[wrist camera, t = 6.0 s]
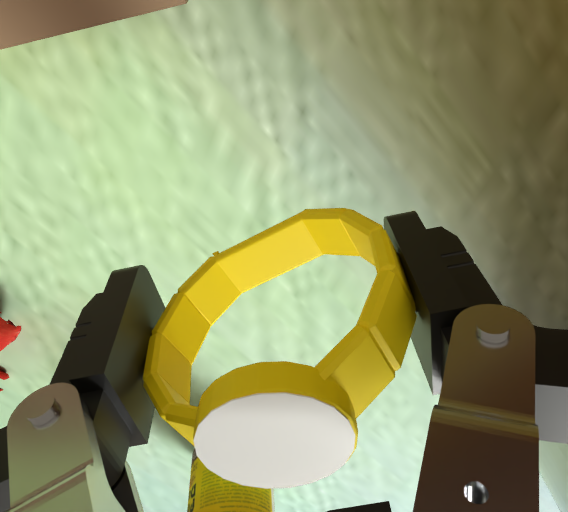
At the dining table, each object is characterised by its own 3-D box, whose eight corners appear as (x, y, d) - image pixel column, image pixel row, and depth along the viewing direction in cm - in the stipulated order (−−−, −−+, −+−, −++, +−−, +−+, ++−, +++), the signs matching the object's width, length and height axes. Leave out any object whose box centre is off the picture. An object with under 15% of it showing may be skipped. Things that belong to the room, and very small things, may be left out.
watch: (210, 317, 14) (170, 524, 10) (154, 251, 13) (73, 456, 8) (400, 240, 13) (466, 446, 8) (358, 154, 11) (408, 342, 6)
